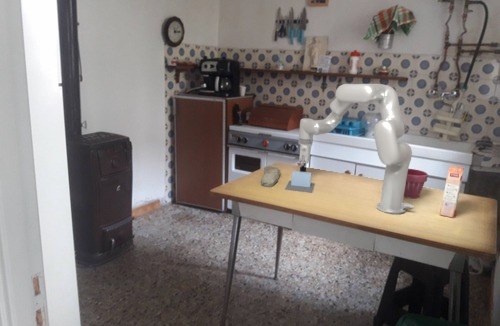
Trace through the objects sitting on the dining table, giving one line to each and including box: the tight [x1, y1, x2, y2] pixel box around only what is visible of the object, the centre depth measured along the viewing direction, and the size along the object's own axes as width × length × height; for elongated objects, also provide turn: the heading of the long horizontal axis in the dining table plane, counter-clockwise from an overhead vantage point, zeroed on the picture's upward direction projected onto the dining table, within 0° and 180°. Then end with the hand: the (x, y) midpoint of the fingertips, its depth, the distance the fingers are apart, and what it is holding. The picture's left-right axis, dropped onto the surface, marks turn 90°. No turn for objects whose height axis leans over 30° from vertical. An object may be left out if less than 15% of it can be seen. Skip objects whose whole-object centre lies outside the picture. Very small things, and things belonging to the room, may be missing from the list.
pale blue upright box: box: [290, 170, 313, 187], centre depth 207 cm, size 10×4×7 cm, turn 77°
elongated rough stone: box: [260, 165, 281, 188], centre depth 219 cm, size 35×5×10 cm
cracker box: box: [439, 165, 465, 219], centre depth 176 cm, size 14×6×21 cm, turn 148°
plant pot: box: [404, 168, 429, 199], centre depth 200 cm, size 14×14×13 cm
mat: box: [284, 180, 316, 193], centre depth 206 cm, size 14×16×1 cm
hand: (302, 174), depth 212 cm, fingers closed
